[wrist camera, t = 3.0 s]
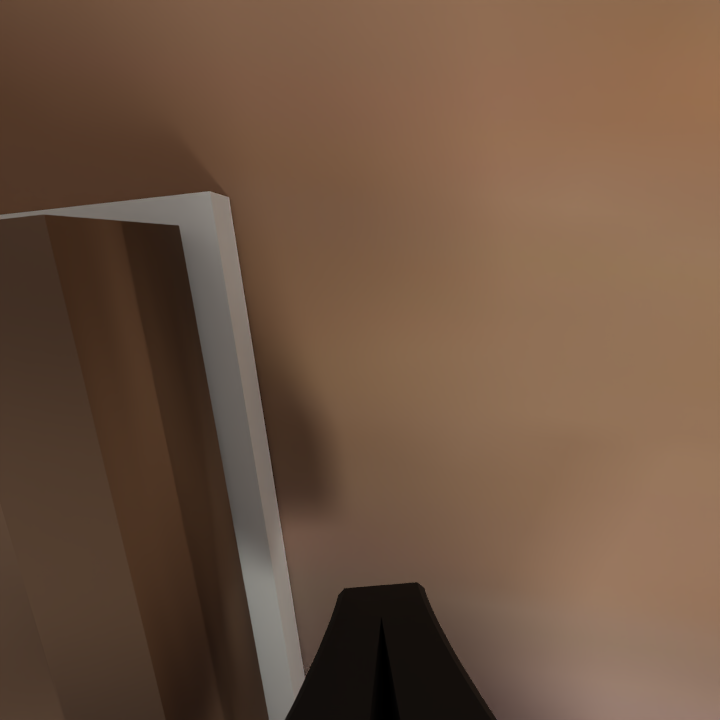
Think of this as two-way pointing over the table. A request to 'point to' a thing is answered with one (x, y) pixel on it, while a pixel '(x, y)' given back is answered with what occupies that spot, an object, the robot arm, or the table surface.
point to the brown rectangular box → (113, 486)
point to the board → (231, 419)
